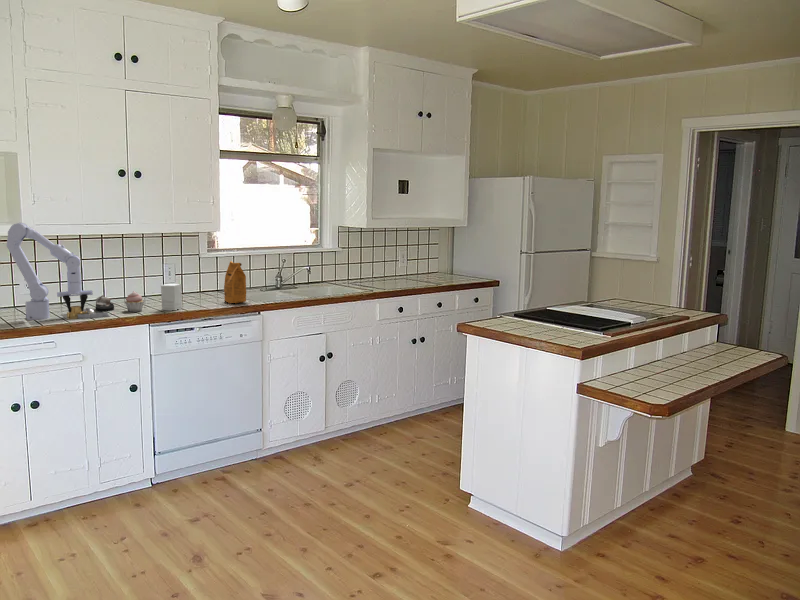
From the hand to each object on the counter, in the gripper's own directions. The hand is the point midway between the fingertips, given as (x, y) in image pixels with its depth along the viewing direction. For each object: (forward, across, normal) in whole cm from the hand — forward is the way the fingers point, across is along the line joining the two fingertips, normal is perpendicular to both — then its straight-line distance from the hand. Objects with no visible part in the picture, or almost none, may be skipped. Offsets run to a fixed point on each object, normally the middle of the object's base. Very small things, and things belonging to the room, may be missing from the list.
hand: (75, 311), depth 311 cm
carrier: (+3, +4, 0) cm, 5 cm away
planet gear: (+2, 0, 0) cm, 2 cm away
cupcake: (+4, +28, +9) cm, 30 cm away
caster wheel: (+4, +16, +14) cm, 22 cm away
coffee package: (+3, +81, +12) cm, 82 cm away
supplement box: (+3, +45, +5) cm, 45 cm away
